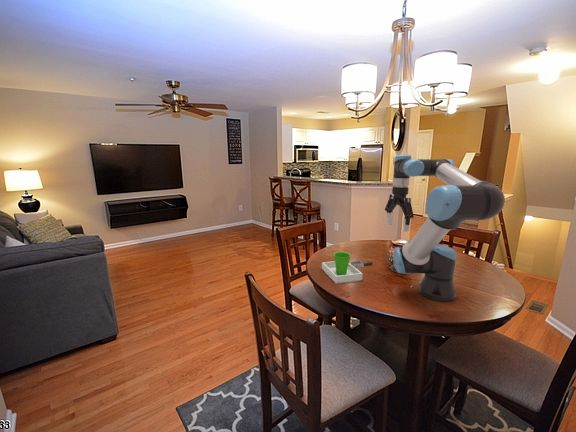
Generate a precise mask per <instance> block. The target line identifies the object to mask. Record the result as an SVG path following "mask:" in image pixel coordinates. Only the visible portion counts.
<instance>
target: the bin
mask: <svg viewBox="0 0 576 432" xmlns="http://www.w3.org/2000/svg"><path fill="white" fill-rule="evenodd" d="M350 263H351V262H349V264H348V268H347V273H346V275H337V273H336V265H335V260H334V261H333V260H332V261H326V262H325V261H324V262H321V270H322V271H323V272H324V273H325V274H326V275H327V276H328V277H329V279H330V280H331V281H332V282H333V283H334V284H335V285H339V284H347V283H353V282H354V283H355V282H362V281H363V275H364V274H363V272H361V271H360V270H359V269H358V268H355V267H354V266H352V265H351V264H350Z"/></svg>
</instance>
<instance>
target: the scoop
mask: <svg viewBox="0 0 576 432" xmlns="http://www.w3.org/2000/svg"><path fill="white" fill-rule="evenodd" d="M349 263H350V264H351V265H352V266H354V267H355V268H356V269H359V268H360V269H361V268H365V266H367V265H373V261H364V262H363V261H361V260H353V261H350V262H349Z"/></svg>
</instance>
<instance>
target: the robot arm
mask: <svg viewBox="0 0 576 432" xmlns="http://www.w3.org/2000/svg"><path fill="white" fill-rule="evenodd" d="M392 176H393V178H392V187H391V188H392V190H391V193H392V194H389V197H388V200H387V203H386V206H385V208H384V210H385V212H386V213H387V214H386V226H392V225H393V217H394V216H393V215H394V212H393V211H394V210H395V208H396V207H397V206H399V207H400V208H401V210H402V213H403V215H404V217H403V224H402V225H403V226H402V232H404V233H405V232H409V231H410V224H411V219H413V218H414V217H415V216H414V211H413V206H412V202H411V201H412V199H411V197H407V195H408V194H409V189H410V187H409V186H410V178H412V177H435V178H437V179H439V180H440V181H442V182H443V183H445V185H438V186H436V187H433V188H432V189H431V191H430V192H429V193H428V195H427V197H426V202H425V212H426V215H427V218H426V219H425V220H424V222H423V223H422V225H420V228H419V229H418V230H417V232H416V233H415V234H414V236H413V238H412V239H411V240H410V241H407V242H405V243H404V245H403V246H402V247H395V248H394V249H393V252H392V256H393V257H392V259H393V260H392V261H393V264H394V269H395V270H396V272H397V273H398V274H404V275H405V274H408V275H409V274H410V275H411V274H424V276H423V277H422V280H421V283H420V284H419V285H418V286H419V287H418V292H419V294H421V295H422V296H424V297H425V298H426V299H428V300H429V299H430V300H433V301H438V302H452V301H454V300H455V299H456V295H457V294H456V290H455V285H454V284H455V283H454V274H455V267H456V261H457V252H456V250H455V249H453V248H452V247H450V246H447V245H444V244H441V243H440V242H441V241H442V240H443V239H444V238H445V237H446V235H447V234H448V233H449V232H450V231H452V230H456V229H458V228H460V226H461V225H462V224H463V223H465V221H486V220H491V219H493V218H494V217H497V215H499V214H500V213H501V211H502V210H503V209H504V207H505V202H506V200H505V197H506V196H505V194H504V192H503V191H502V189H501V188H499V186H497V185H495V184H493V183H491V182H490V181H486V180H480V179H478V178H477V177H474V176H473V175H470V174H469V173H467V172H465V171H464V170H462V169H459V168H458V167H456V164H455V162H454V160H452V159H447V158H439V159H438V158H435V159H434V158H431V159H429V158H426V159H425V158H421V159H420V158H412V155H411V154H396V155H395V156H394V161H393V175H392Z"/></svg>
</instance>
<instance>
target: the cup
mask: <svg viewBox="0 0 576 432" xmlns="http://www.w3.org/2000/svg"><path fill="white" fill-rule="evenodd" d="M333 256H334V261H335V265H336V273H337V275H346V273H347V268H348V264H349V263H350V257H352V254H351V253H349V252H346V251H336V252H333Z"/></svg>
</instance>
